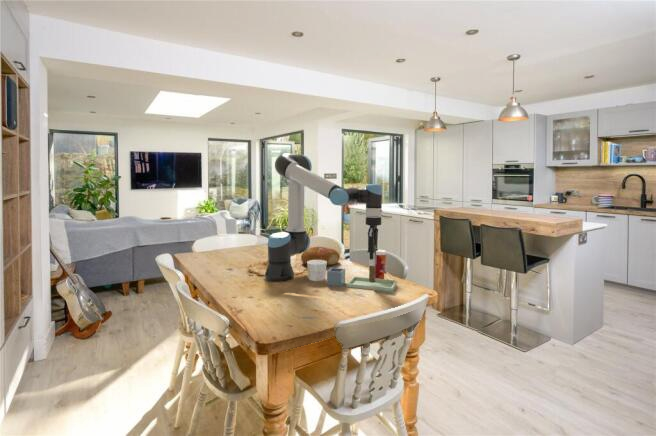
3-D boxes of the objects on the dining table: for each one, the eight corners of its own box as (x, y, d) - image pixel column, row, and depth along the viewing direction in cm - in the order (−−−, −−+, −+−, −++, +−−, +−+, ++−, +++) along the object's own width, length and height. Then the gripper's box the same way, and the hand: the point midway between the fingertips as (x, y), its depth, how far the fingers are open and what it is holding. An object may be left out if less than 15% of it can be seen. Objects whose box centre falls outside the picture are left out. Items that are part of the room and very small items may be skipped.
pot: (327, 287, 191) (327, 271, 190) (331, 283, 197) (331, 267, 196) (341, 288, 188) (341, 272, 187) (345, 284, 195) (345, 268, 194)
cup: (329, 279, 204) (329, 261, 203) (321, 284, 195) (321, 265, 194) (312, 277, 208) (312, 259, 207) (303, 282, 199) (303, 263, 198)
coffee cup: (385, 281, 202) (386, 252, 200) (369, 280, 203) (370, 251, 201) (386, 277, 210) (387, 249, 208) (371, 276, 211) (371, 248, 210)
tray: (346, 288, 188) (346, 283, 188) (353, 281, 201) (353, 276, 201) (392, 293, 181) (392, 288, 181) (396, 285, 195) (396, 280, 194)
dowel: (368, 282, 190) (369, 245, 188) (369, 280, 193) (370, 244, 191) (374, 282, 189) (375, 246, 187) (375, 281, 192) (376, 245, 190)
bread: (339, 268, 228) (340, 251, 227) (299, 268, 228) (299, 251, 227) (339, 259, 251) (339, 244, 250) (302, 259, 251) (302, 243, 250)
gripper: (378, 218, 179) (376, 269, 181) (384, 215, 194) (383, 261, 196) (362, 218, 181) (361, 267, 184) (369, 214, 196) (368, 260, 199)
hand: (372, 264), depth 190 cm, fingers closed on dowel, 3 cm apart
